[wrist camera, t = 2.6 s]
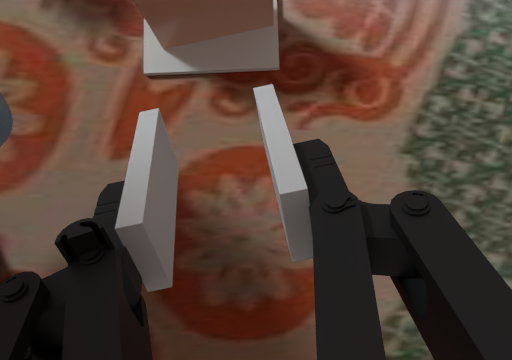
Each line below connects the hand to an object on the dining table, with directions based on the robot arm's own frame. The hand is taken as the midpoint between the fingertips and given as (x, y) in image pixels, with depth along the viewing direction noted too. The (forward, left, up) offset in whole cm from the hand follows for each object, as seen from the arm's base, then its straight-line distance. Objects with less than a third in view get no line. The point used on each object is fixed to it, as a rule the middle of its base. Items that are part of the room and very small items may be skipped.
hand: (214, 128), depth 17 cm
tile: (-2, +14, -20) cm, 24 cm away
